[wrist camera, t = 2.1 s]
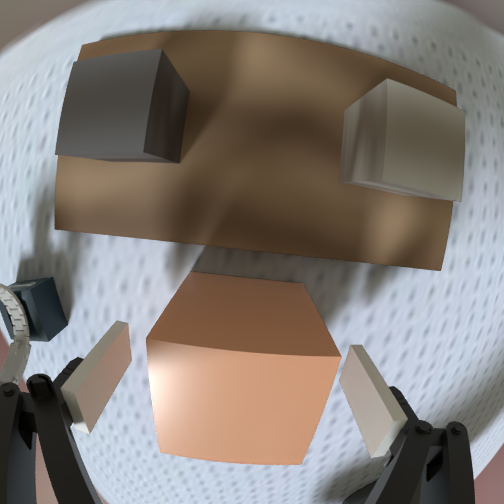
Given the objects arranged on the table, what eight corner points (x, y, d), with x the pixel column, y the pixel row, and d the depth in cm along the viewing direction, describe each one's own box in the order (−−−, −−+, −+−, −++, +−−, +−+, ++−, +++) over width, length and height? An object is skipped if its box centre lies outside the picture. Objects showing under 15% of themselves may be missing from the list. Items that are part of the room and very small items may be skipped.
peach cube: (285, 373, 21) (301, 464, 12) (187, 364, 20) (159, 452, 12) (302, 283, 19) (341, 356, 10) (190, 271, 19) (145, 338, 10)
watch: (46, 253, 18) (-54, 300, 8) (74, 343, 20) (3, 419, 9) (9, 261, 19) (-76, 301, 8) (35, 341, 20) (-31, 402, 10)
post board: (430, 265, 19) (493, 299, 12) (65, 226, 18) (-3, 247, 11) (445, 94, 16) (507, 72, 8) (91, 51, 15) (38, 13, 8)
